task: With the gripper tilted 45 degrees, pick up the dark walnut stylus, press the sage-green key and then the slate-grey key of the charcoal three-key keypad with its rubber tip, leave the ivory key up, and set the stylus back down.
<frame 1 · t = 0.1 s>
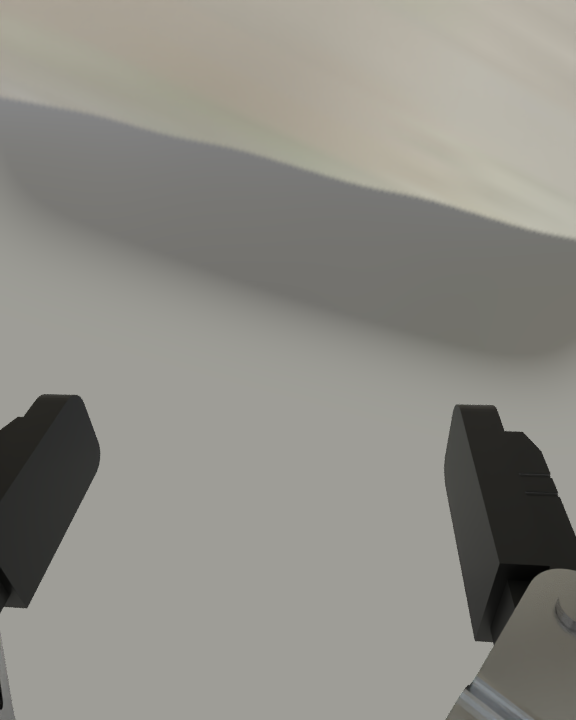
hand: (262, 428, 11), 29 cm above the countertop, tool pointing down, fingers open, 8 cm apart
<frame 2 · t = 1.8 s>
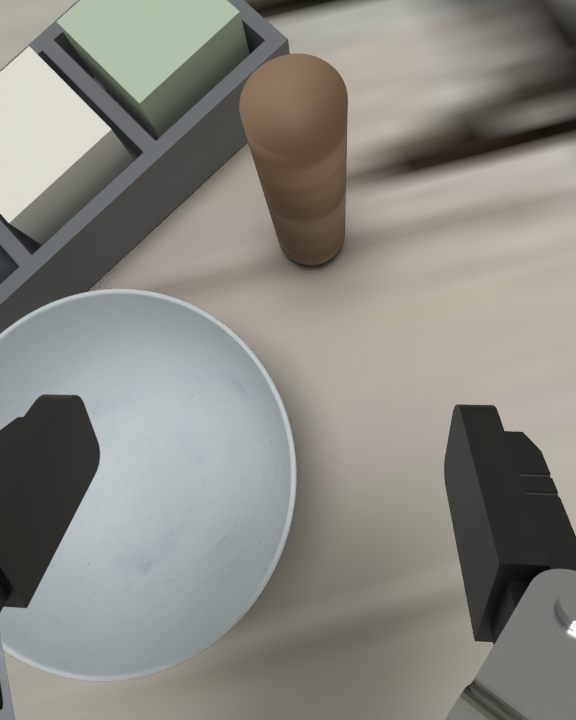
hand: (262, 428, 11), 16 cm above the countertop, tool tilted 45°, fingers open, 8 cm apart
chinaware: (169, 465, 28), on the countertop
ivory key: (39, 152, 27), point 4 cm above the countertop, slide at 0.0 cm
sage key: (158, 43, 27), point 4 cm above the countertop, slide at 0.0 cm
walnut stylus: (312, 240, 29), on the countertop
keypad: (80, 191, 31), on the countertop
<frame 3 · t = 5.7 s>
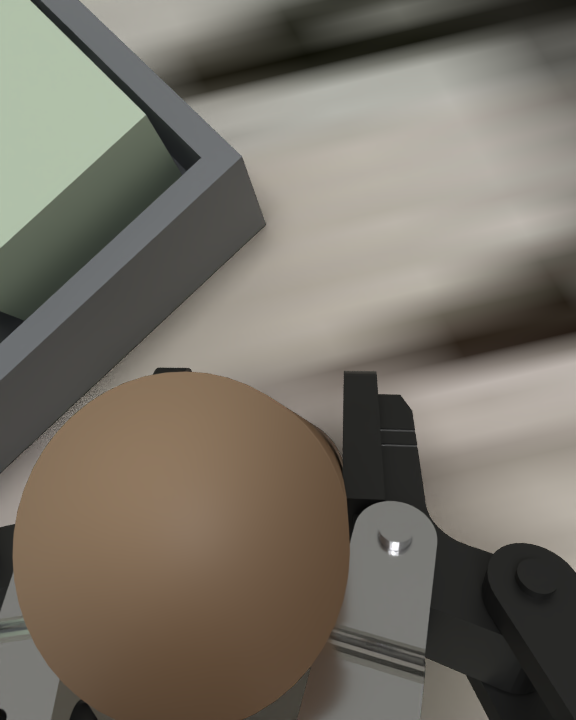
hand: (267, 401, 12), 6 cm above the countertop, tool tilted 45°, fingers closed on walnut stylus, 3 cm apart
sage key: (16, 157, 15), point 4 cm above the countertop, slide at 0.0 cm
walnut stylus: (289, 474, 17), on the countertop, touching gripper
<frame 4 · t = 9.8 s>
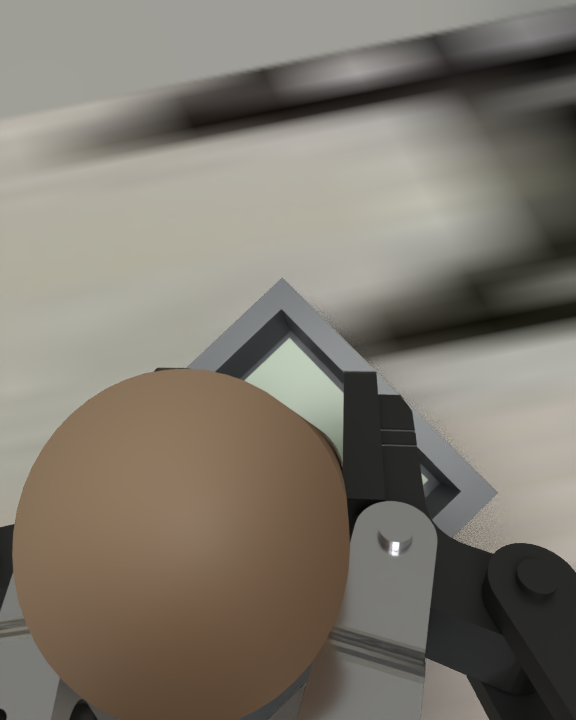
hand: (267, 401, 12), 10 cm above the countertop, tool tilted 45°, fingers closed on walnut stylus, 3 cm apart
sage key: (290, 471, 19), point 3 cm above the countertop, slide at 1.5 cm, touching walnut stylus
walnut stylus: (289, 475, 17), point 5 cm above the countertop, touching gripper, sage key
keypad: (149, 609, 21), on the countertop
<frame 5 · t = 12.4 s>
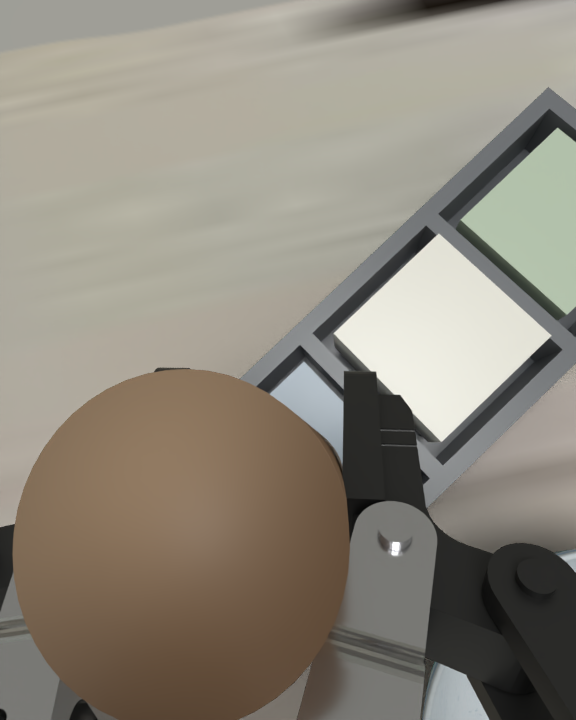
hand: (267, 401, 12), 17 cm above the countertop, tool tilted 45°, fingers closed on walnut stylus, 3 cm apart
chinaware: (553, 675, 26), on the countertop
slate key: (304, 466, 24), point 4 cm above the countertop, slide at 0.0 cm
ivory key: (433, 342, 24), point 4 cm above the countertop, slide at 0.0 cm
sage key: (547, 233, 26), point 3 cm above the countertop, slide at 1.5 cm
walnut stylus: (289, 479, 17), point 11 cm above the countertop, touching gripper
keypad: (419, 356, 29), on the countertop
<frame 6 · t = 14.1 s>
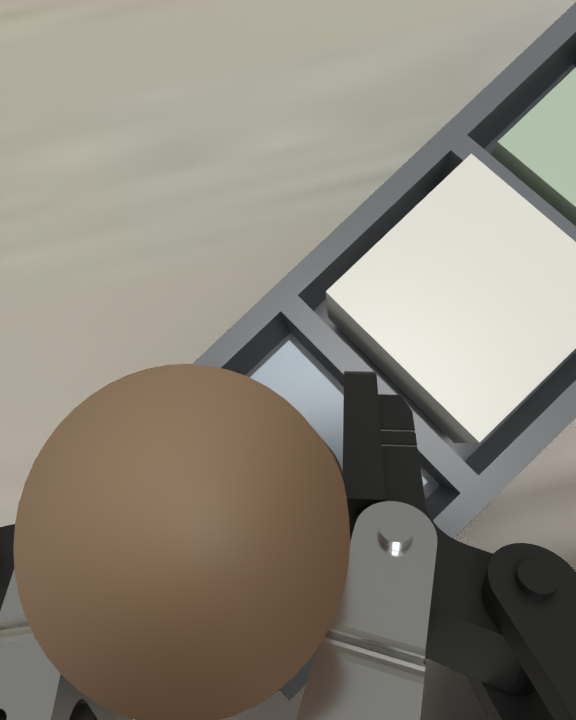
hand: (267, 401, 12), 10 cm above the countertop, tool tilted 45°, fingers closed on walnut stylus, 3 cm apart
slate key: (290, 473, 19), point 3 cm above the countertop, slide at 1.5 cm, touching keypad, walnut stylus
ivory key: (462, 306, 18), point 4 cm above the countertop, slide at 0.0 cm
walnut stylus: (289, 485, 17), point 5 cm above the countertop, touching gripper, slate key
keypad: (439, 332, 22), on the countertop
when the fingers open (7 cm above the countertop, at t = 19.4 s): walnut stylus drops 1 cm, on the countertop.
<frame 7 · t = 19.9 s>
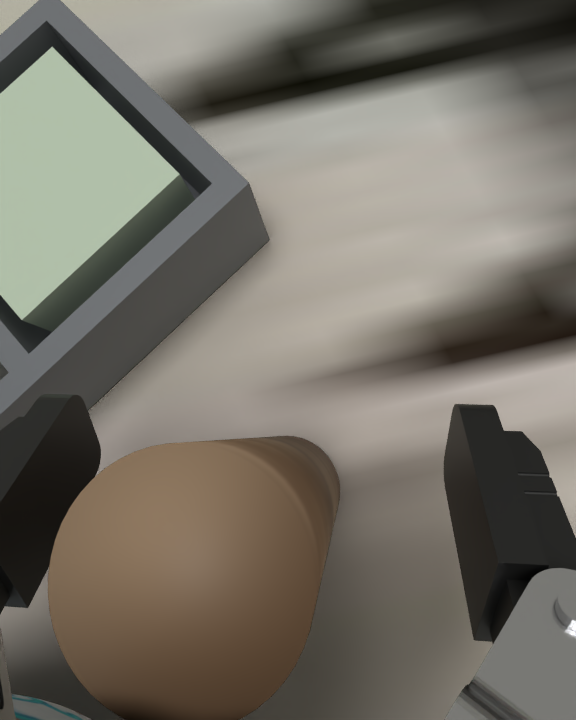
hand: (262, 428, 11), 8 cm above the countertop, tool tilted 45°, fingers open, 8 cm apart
sage key: (66, 202, 18), point 3 cm above the countertop, slide at 1.5 cm
walnut stylus: (289, 486, 19), on the countertop
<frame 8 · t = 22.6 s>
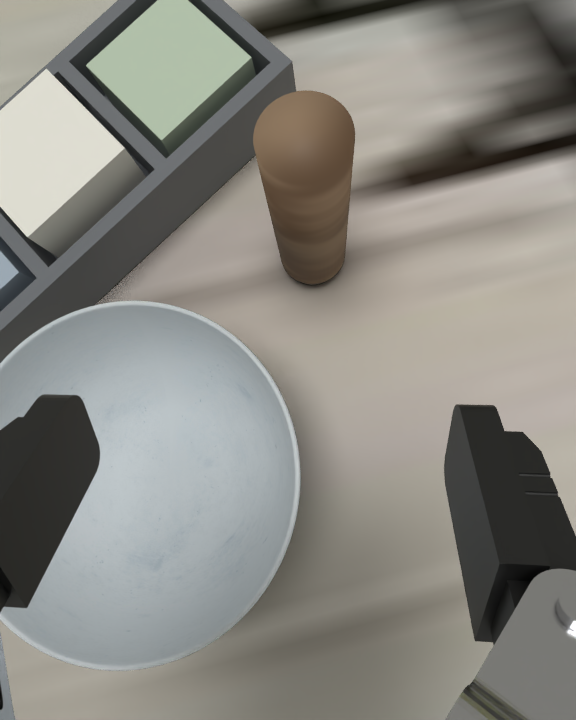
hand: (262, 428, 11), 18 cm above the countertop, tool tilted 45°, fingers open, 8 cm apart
chinaware: (178, 467, 29), on the countertop
ivory key: (55, 168, 28), point 4 cm above the countertop, slide at 0.0 cm
sage key: (177, 83, 30), point 3 cm above the countertop, slide at 1.5 cm
walnut stylus: (313, 259, 30), on the countertop
keypad: (92, 204, 32), on the countertop
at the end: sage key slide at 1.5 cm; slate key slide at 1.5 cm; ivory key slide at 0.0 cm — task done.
